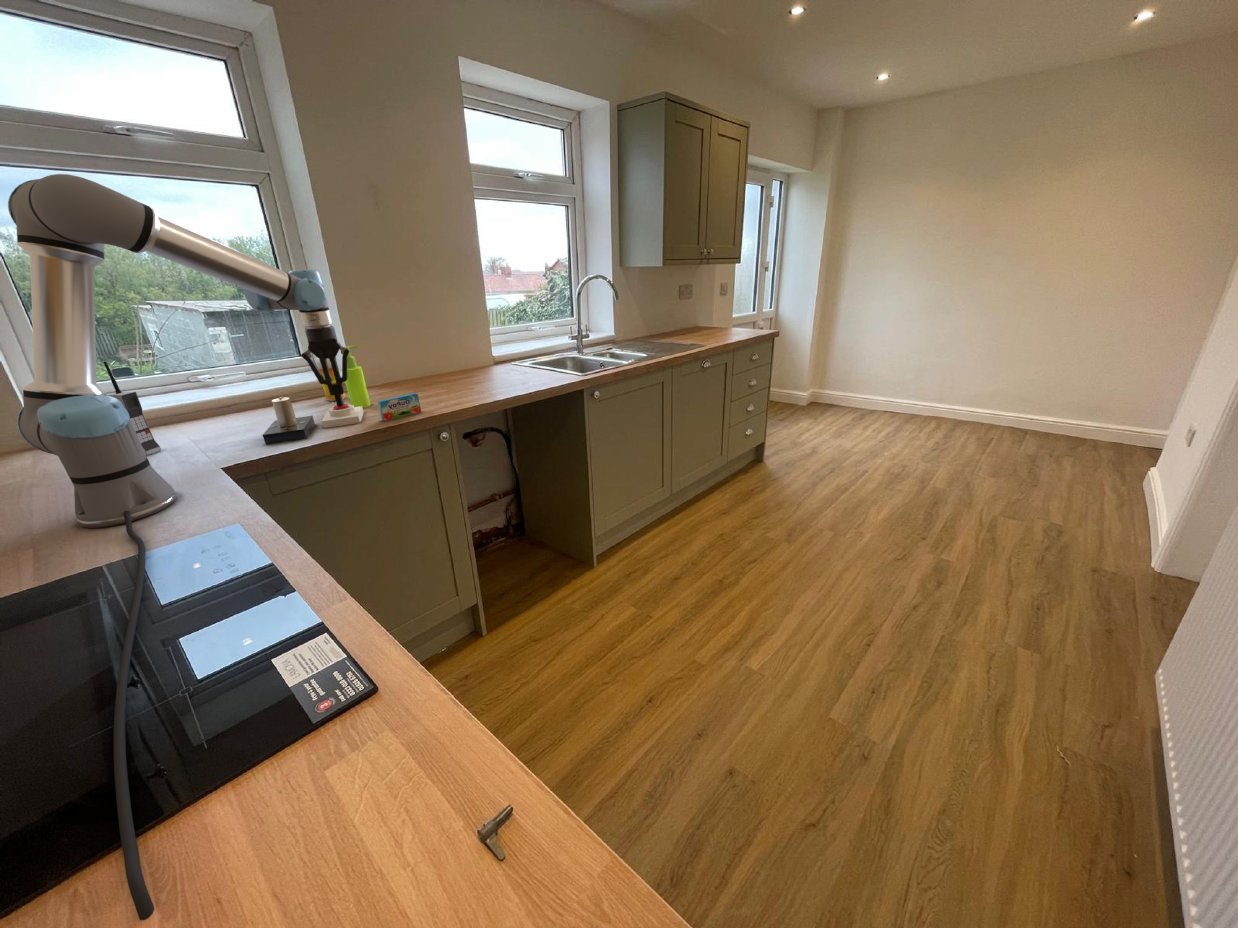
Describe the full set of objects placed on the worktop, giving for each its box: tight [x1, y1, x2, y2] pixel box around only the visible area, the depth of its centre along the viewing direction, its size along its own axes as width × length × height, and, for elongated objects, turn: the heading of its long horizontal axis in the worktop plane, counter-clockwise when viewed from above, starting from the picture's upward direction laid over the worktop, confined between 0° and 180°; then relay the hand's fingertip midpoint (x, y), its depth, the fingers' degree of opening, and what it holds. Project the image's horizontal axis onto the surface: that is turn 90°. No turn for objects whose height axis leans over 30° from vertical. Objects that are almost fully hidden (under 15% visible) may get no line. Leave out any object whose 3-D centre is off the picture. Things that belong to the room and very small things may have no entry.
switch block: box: [321, 404, 364, 429], centre depth 156 cm, size 12×10×4 cm
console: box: [262, 415, 316, 446], centre depth 145 cm, size 14×10×3 cm
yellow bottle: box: [315, 357, 346, 402], centre depth 178 cm, size 6×6×15 cm
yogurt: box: [377, 392, 422, 422], centre depth 156 cm, size 12×2×6 cm, turn 136°
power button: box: [333, 403, 349, 410], centre depth 155 cm, size 4×4×2 cm
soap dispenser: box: [344, 345, 372, 409], centre depth 167 cm, size 6×7×20 cm
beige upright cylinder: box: [271, 396, 297, 427], centre depth 143 cm, size 4×4×8 cm
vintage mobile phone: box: [102, 361, 162, 456], centre depth 132 cm, size 4×5×25 cm
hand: (340, 404), depth 155 cm, fingers closed
